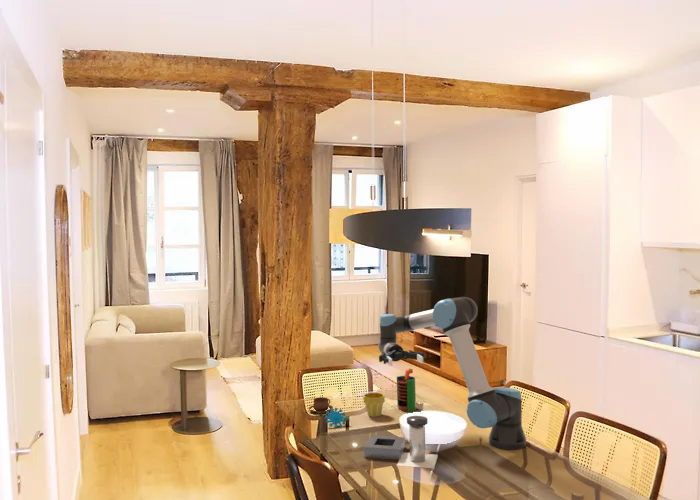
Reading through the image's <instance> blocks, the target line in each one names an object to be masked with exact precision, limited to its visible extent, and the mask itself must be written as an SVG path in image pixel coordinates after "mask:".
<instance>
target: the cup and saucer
mask: <svg viewBox="0 0 700 500" xmlns="http://www.w3.org/2000/svg"><path fill="white" fill-rule="evenodd" d="M330 404H331V400H330V399H329V398H328V397H321V396H320V397H315V398H313V405H311V406H310V407H308V410H309V411H310V412H311V411H312V413H314V412H316V414H326V413H325V412H327V411H329V412H331V411H330V410H327V409H328V407H329V408H330V409H333V408H334V406H332V405H330ZM312 407H314V409H315V410H316V411H313V410H310V409H311V408H312ZM325 410H327V411H325ZM333 410H334V409H333Z"/></svg>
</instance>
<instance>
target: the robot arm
mask: <svg viewBox="0 0 700 500" xmlns="http://www.w3.org/2000/svg"><path fill="white" fill-rule="evenodd" d="M477 316H478V305H477V304H476V302H475V301H474V300H473V298H469V297H468V296H467V297H466V296H460V297H453V298H452V297H451V298H445V299H441V300H439V301H437V303H436V304H435V305H434V307H433V308H432V309H428V310H424V311H419V312H416V313H412V314H407V315H403V316H402V315H401V316H397V315H396V314H394V313H385V314H381V315H380V316H379V333H380V334H379V335H380V338H379V342H378V350H379V352H380V353H381V354H380V355H379V356H378V360H379V361H378V362H379V363H382V362H383V364H384V365H386V364H388V365H389V366H390V367H391V366H393V362H399V361H401V360H408V359H409V360H410V359H411V360H415V361H417V362H419V363H420V364H424V360H425V353H422V352H421V351H420V352H418V351H414V350H411V349H410V350H408V351H407V350H404V349H403V347H402V346H401V345H399V344H398V343H397V334H399V333H400V334H401V333H405V332H412V331H416V330H420V329H424V328H425V329H426V328H430V327H435V326H437V327H438V328H440V329H442V332H443V334H444V335H445V336H447V337H448V339H449V341H450V343H451V345H452V348H453V352H454V354H455V356H456V360H457V363H458V365H459V369H460V370H461V374H462V376H463V379H464V381H465V385H466V387H467V389H468V390H467V391H468V395H467V398H466V399H467V401H468V404H467V406H466V407H467V408H466V415H467V418H468V420H469V421H470V422H471V424H472V425H474V426H476V427H477V428H479V429H488V428H491V430H490V433H489V435H488V436H489V437H488V443H489V445H490V446H492V447H495V448H498V449H503V450H521V449H524V448H525V447H526V446H527V438H526V435H525V431H524V429H523V425H522V422H523V421H522V418H523V417H522V414H523V413H522V401H523V399H522V393H521V391H520V390H518V389H515V388H511V387H502V386H498V387H497V386H496V387H492V386H490V384H489V380H488V378H487V377H486V376H487V375H486V372H485V370H484V368H483V366H482V363H481V360H480V356H479V354H478V352H477V350H476V347H475V343H474V341H473V338H472V335H471V332H470V328H471V323H472V322H473V321H474V320H475V319H476V318H477Z"/></svg>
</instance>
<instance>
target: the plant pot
mask: <svg viewBox="0 0 700 500" xmlns="http://www.w3.org/2000/svg"><path fill="white" fill-rule="evenodd" d="M362 396H363V397H362V399H363V403H364V405H365V409H366V413H367V416H368V417H372V418H376V417H380V416H382V413H383V405H384V403H385V395H384V393H382V392H367V393H364V394H363V395H362Z"/></svg>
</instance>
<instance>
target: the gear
mask: <svg viewBox="0 0 700 500" xmlns="http://www.w3.org/2000/svg"><path fill="white" fill-rule="evenodd" d="M333 410H334V411H333ZM349 418H350V417H349V416H348V415H347V416H346V412H343V410H342V409H341V408H340V409H339V410H338V407H334V409H330V411H327V412H326V413H325V417H324V419H326V424H329V427H331V428H332V427H333V425H334V428H335V429H338V427H339V428H342V427H343V425H345V424H346V422H347V420H349ZM341 422H342V423H341ZM338 424H339V425H338Z"/></svg>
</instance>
